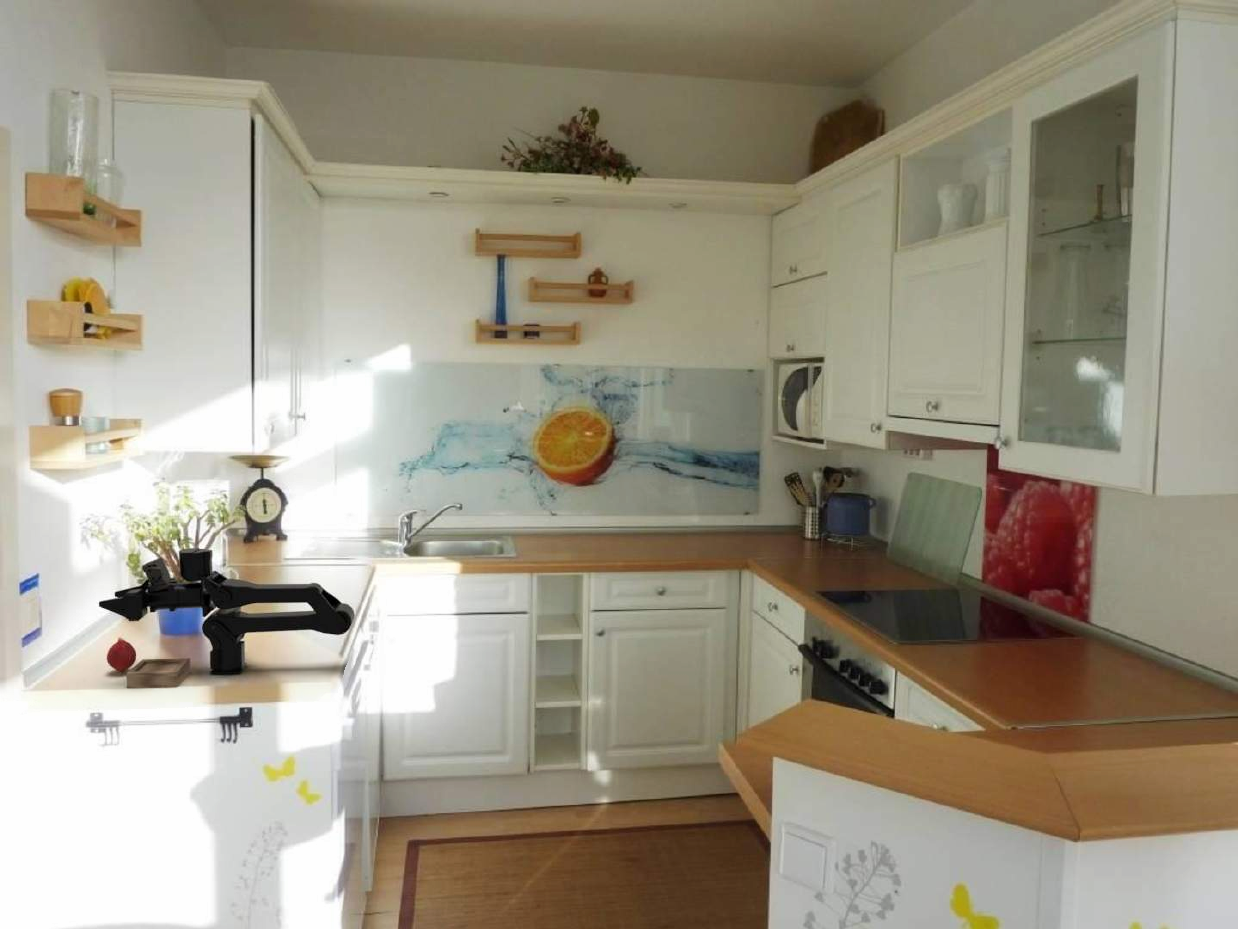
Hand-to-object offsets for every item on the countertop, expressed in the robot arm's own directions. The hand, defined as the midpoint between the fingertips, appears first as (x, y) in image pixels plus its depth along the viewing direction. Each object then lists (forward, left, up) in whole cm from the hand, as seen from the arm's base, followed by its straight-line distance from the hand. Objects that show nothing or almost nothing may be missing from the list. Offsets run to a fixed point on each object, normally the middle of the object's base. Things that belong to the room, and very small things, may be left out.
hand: (107, 599), depth 216 cm
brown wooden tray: (-12, +6, -17) cm, 22 cm away
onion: (-3, 0, -17) cm, 17 cm away
